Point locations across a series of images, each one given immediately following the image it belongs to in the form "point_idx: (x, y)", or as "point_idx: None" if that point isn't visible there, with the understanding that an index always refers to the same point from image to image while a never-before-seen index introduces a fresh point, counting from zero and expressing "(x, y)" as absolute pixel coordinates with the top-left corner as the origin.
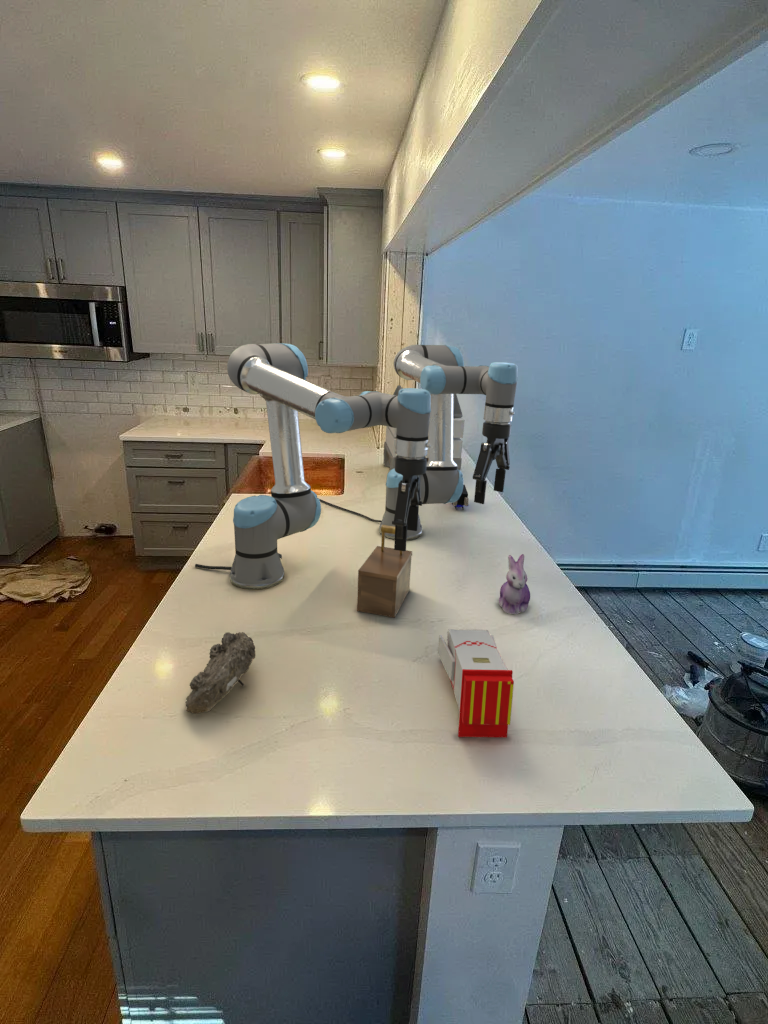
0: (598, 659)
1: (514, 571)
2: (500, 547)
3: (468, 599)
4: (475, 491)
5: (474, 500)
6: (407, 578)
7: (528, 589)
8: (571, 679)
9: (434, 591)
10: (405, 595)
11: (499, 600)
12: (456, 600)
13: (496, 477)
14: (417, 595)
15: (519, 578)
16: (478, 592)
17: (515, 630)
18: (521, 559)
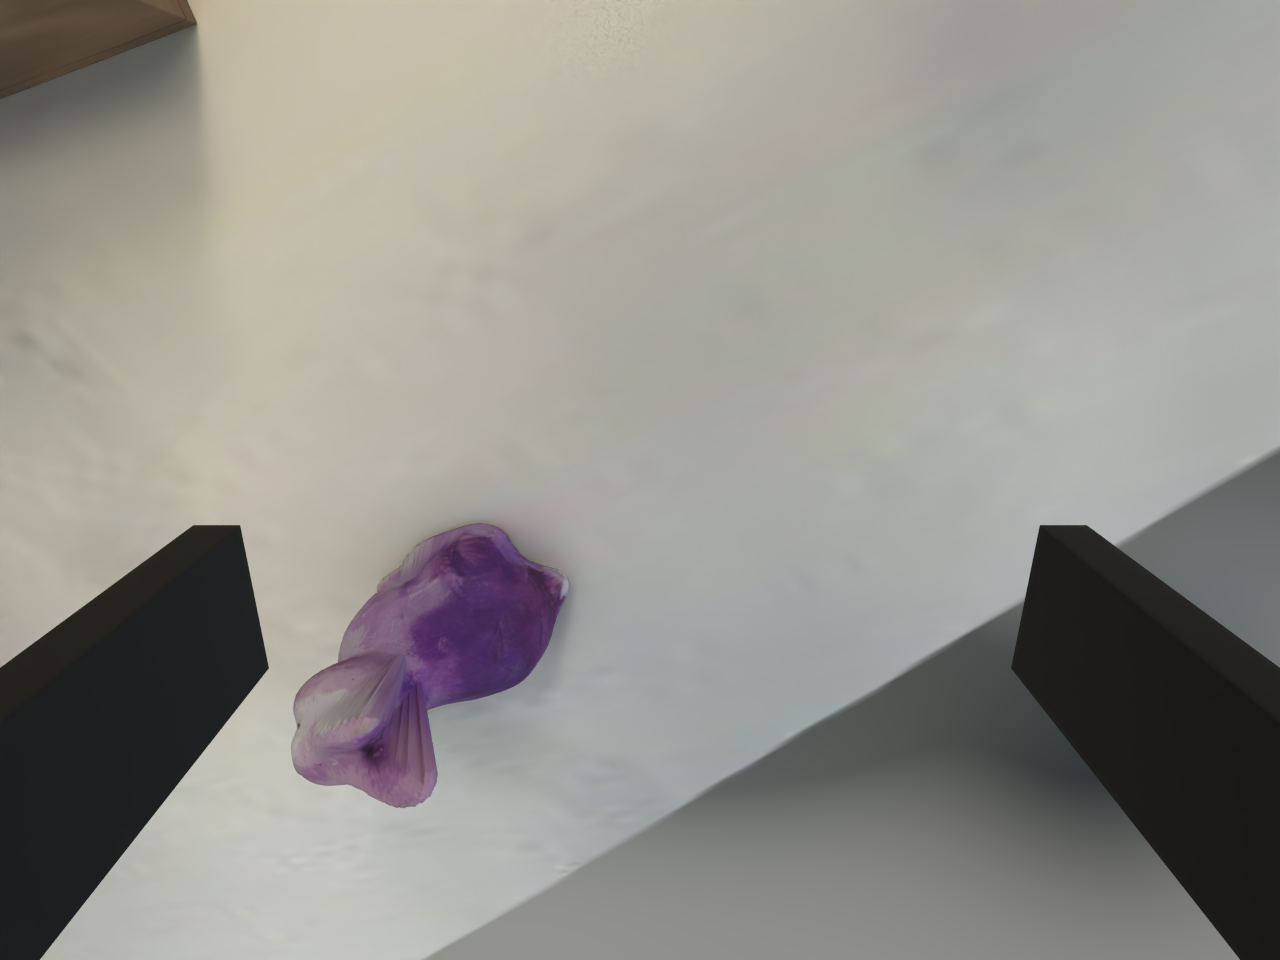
0: (323, 929)
1: (302, 748)
2: (1218, 237)
3: (371, 387)
4: (54, 638)
5: (175, 546)
6: (34, 25)
7: (489, 694)
8: (139, 896)
9: (308, 176)
10: (91, 57)
11: (438, 539)
12: (313, 339)
13: (1211, 704)
14: (185, 112)
15: (295, 767)
16: (484, 397)
17: (276, 669)
18: (373, 794)
